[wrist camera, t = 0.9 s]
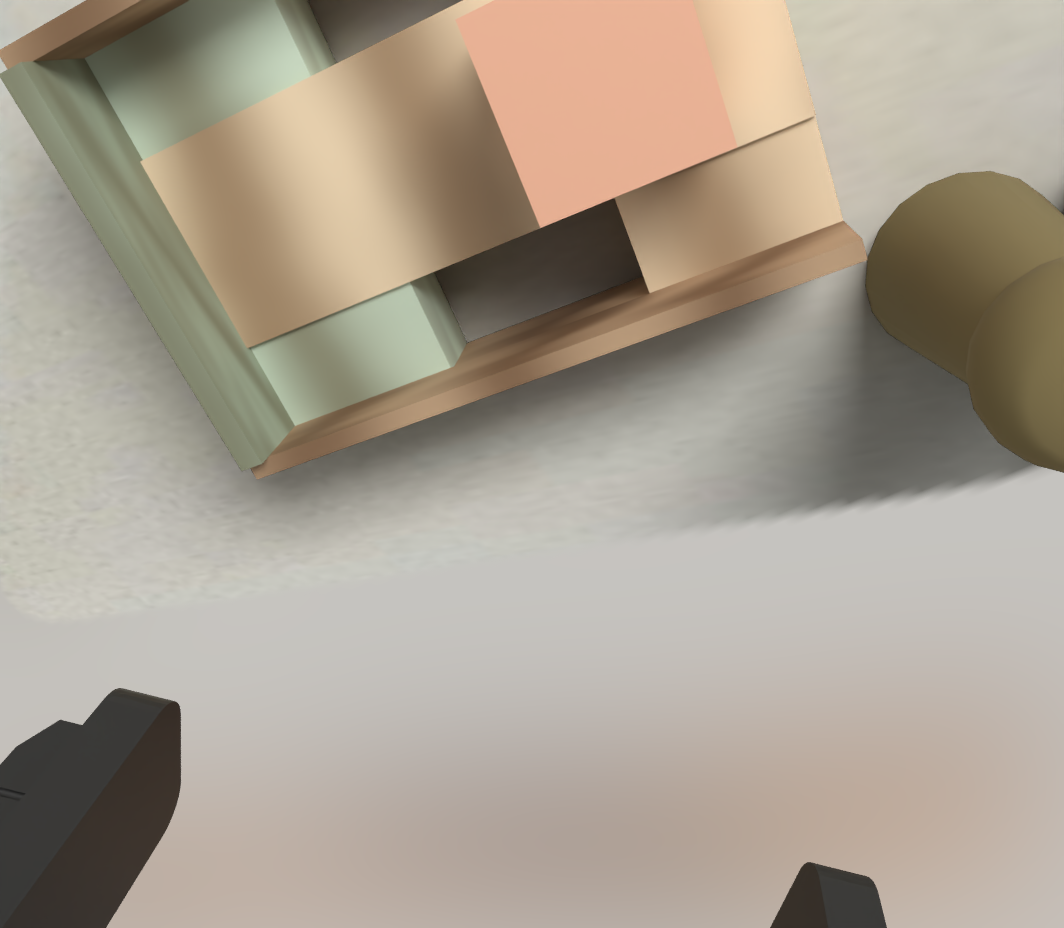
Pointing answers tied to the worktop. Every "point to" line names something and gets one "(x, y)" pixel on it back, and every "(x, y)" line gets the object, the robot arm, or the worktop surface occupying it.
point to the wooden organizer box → (386, 206)
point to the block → (597, 94)
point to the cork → (982, 300)
